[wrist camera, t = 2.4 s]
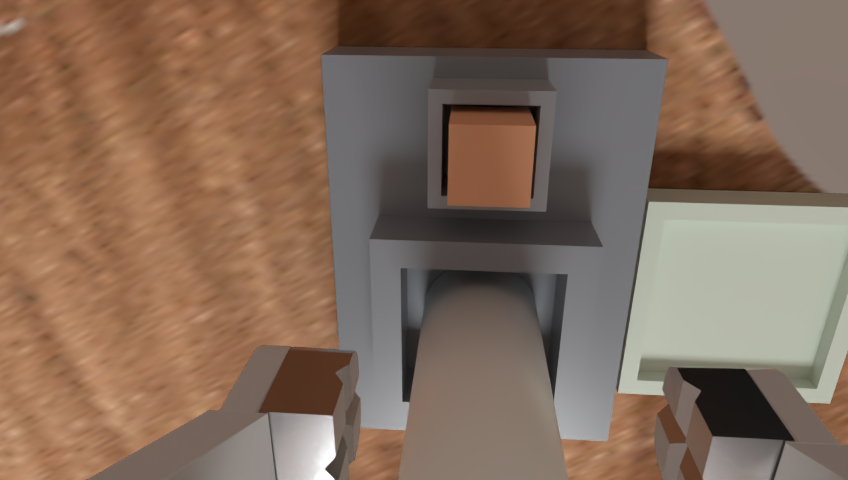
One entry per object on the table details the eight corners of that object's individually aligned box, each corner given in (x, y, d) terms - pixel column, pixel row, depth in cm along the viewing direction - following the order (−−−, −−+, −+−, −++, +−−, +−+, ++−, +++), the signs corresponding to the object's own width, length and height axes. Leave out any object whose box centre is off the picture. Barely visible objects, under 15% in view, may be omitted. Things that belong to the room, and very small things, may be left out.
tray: (610, 371, 32) (618, 393, 30) (638, 188, 28) (649, 201, 26) (810, 380, 31) (829, 403, 29) (869, 194, 27) (895, 208, 25)
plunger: (450, 178, 24) (447, 205, 21) (451, 105, 22) (449, 124, 20) (523, 180, 23) (529, 207, 21) (528, 107, 22) (536, 126, 19)
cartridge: (398, 313, 28) (301, 749, 12) (475, 235, 26) (477, 631, 10) (483, 378, 29) (493, 855, 13) (562, 308, 27) (684, 764, 11)
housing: (354, 389, 33) (333, 463, 28) (337, 46, 26) (304, 63, 21) (596, 401, 32) (618, 480, 27) (647, 49, 25) (690, 68, 20)
